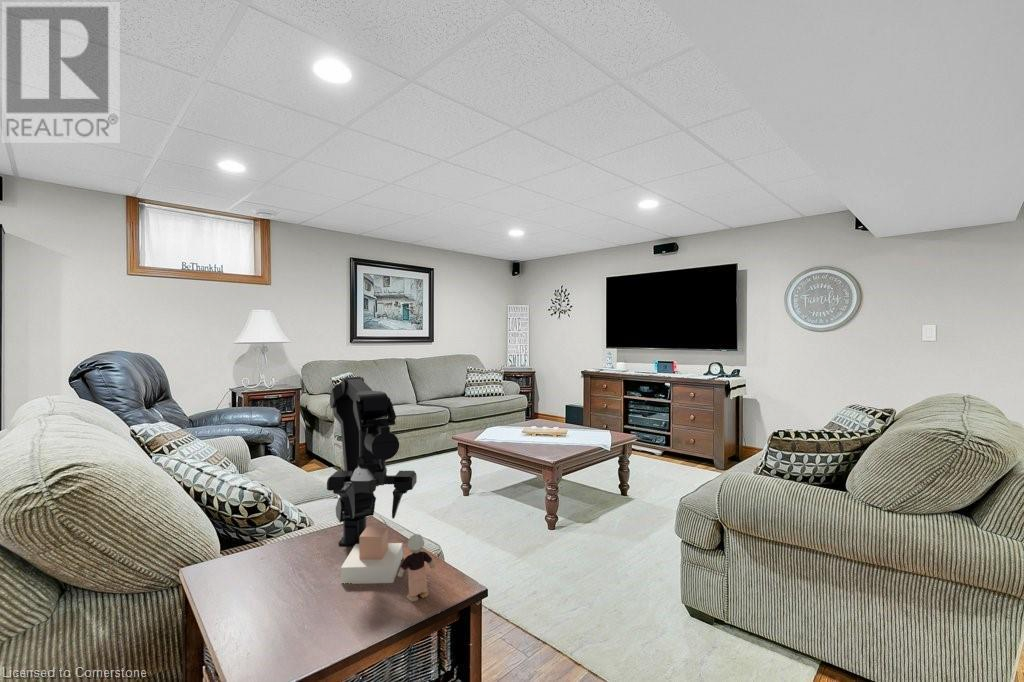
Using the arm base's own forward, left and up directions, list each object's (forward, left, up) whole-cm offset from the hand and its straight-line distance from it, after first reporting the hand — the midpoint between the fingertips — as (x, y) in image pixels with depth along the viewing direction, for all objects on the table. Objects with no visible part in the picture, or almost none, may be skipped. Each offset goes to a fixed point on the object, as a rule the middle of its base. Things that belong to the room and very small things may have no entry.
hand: (373, 518), depth 106 cm
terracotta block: (0, 0, -8) cm, 8 cm away
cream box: (0, 0, -12) cm, 12 cm away
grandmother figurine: (+11, +12, -12) cm, 20 cm away
